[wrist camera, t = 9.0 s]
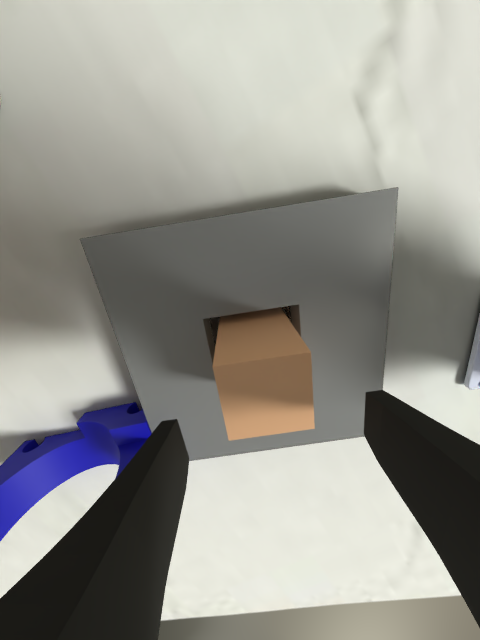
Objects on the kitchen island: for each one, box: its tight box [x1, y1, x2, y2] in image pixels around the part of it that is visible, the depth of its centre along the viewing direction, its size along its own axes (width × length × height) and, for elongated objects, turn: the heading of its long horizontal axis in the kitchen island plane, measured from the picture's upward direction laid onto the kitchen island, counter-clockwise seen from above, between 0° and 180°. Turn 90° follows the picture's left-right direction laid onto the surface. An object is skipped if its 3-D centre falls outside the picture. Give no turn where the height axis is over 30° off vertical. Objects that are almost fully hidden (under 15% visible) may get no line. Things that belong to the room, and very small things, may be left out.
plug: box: [212, 307, 315, 441], centre depth 13 cm, size 4×4×7 cm
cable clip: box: [0, 402, 152, 541], centre depth 17 cm, size 12×4×6 cm, turn 103°
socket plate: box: [80, 187, 398, 461], centre depth 15 cm, size 16×16×2 cm
